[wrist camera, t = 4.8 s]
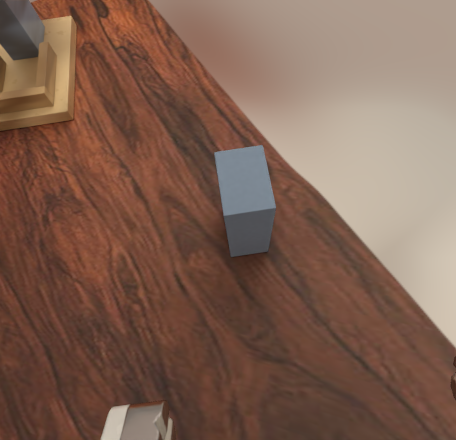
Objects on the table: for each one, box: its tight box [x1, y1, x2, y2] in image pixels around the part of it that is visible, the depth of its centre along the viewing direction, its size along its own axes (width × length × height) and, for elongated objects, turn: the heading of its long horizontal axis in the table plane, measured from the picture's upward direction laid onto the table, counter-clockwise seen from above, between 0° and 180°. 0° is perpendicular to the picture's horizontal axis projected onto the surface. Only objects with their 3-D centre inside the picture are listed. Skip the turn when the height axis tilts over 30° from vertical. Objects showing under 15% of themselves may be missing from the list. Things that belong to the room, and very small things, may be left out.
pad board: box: [0, 0, 77, 131], centre depth 37 cm, size 10×15×10 cm, turn 8°
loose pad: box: [214, 145, 276, 257], centre depth 28 cm, size 4×5×10 cm
